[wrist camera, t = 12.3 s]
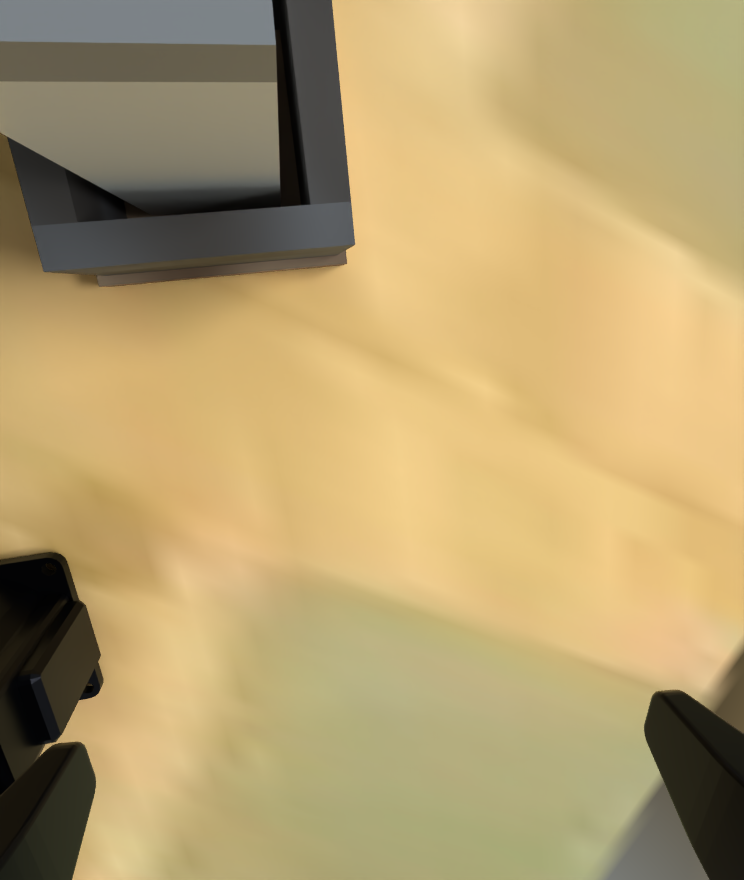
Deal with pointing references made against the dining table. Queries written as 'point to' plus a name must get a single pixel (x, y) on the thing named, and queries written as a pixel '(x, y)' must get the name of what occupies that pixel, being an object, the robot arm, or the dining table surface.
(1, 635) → the robot arm
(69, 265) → the socket deck
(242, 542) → the dining table surface
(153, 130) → the plug
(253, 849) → the dining table surface
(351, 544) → the dining table surface
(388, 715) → the dining table surface
